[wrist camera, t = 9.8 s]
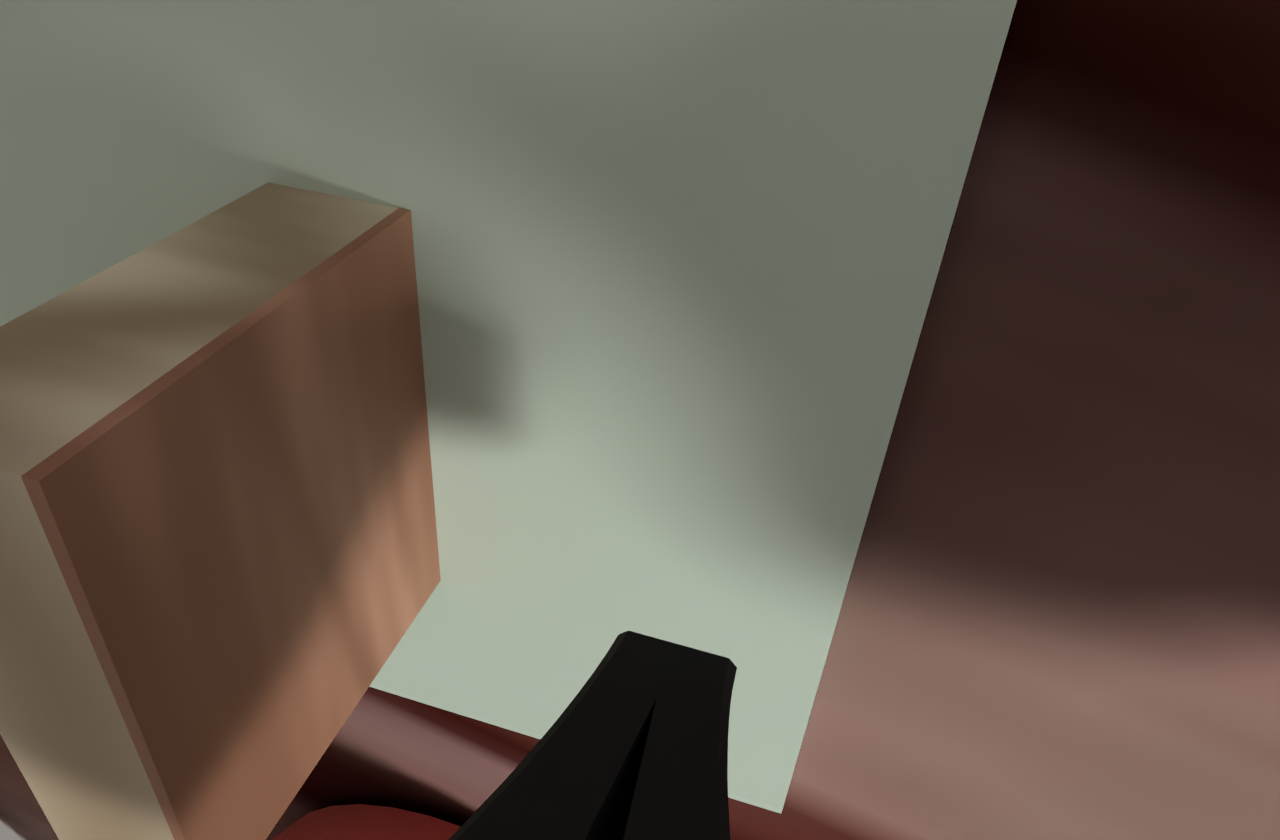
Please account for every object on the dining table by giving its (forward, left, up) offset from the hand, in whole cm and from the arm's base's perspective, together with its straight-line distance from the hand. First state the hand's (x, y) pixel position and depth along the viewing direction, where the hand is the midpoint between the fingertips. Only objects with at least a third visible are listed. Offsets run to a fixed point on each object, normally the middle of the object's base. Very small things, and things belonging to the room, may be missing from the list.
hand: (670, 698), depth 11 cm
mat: (+8, 0, -5) cm, 9 cm away
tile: (+7, +1, -5) cm, 9 cm away
